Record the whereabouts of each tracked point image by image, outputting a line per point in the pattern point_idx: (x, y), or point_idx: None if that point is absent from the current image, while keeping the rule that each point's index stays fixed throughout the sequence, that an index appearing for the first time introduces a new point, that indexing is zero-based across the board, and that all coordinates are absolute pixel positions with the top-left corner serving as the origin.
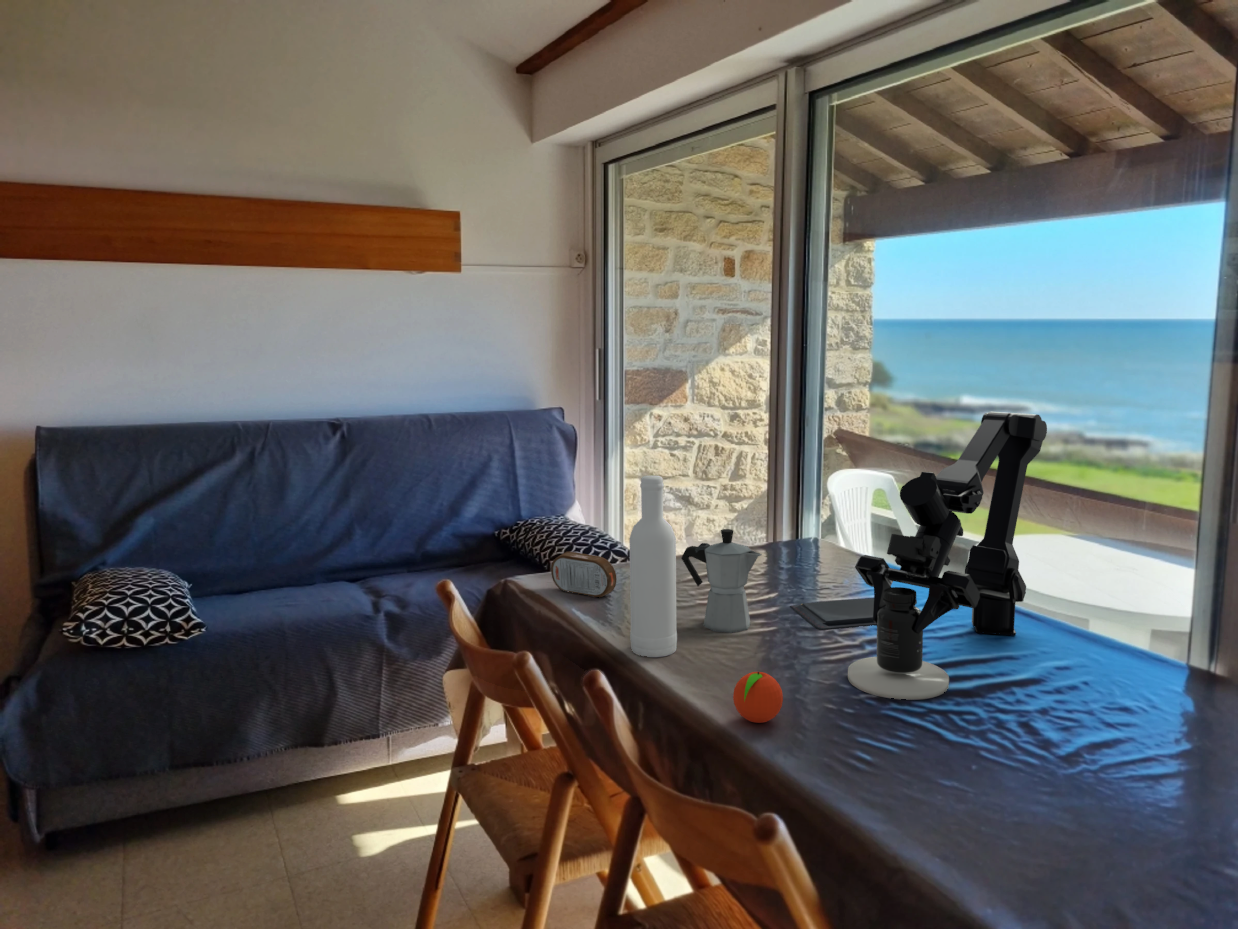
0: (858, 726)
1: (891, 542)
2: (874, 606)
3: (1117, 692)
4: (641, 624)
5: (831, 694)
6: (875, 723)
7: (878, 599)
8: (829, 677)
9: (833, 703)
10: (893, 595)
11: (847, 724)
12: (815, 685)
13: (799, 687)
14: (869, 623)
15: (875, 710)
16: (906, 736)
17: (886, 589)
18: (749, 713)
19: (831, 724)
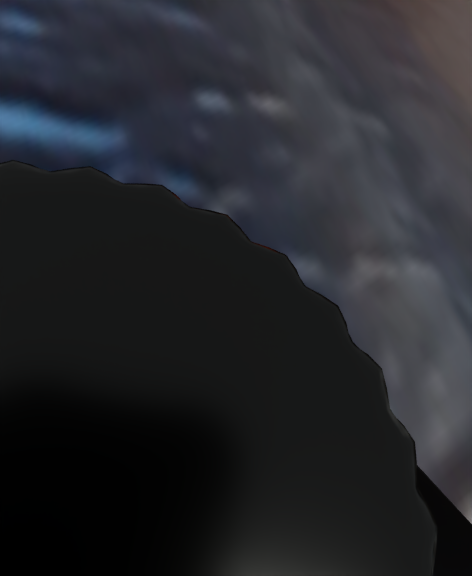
0: (147, 21)
1: None
2: (423, 482)
3: None
4: None
5: (304, 181)
6: (112, 54)
7: (452, 567)
8: (379, 312)
9: (269, 123)
10: (80, 168)
11: (178, 20)
12: (379, 222)
13: (408, 184)
14: None
15: (141, 132)
16: (8, 16)
17: (393, 524)
18: None
19: (214, 5)
